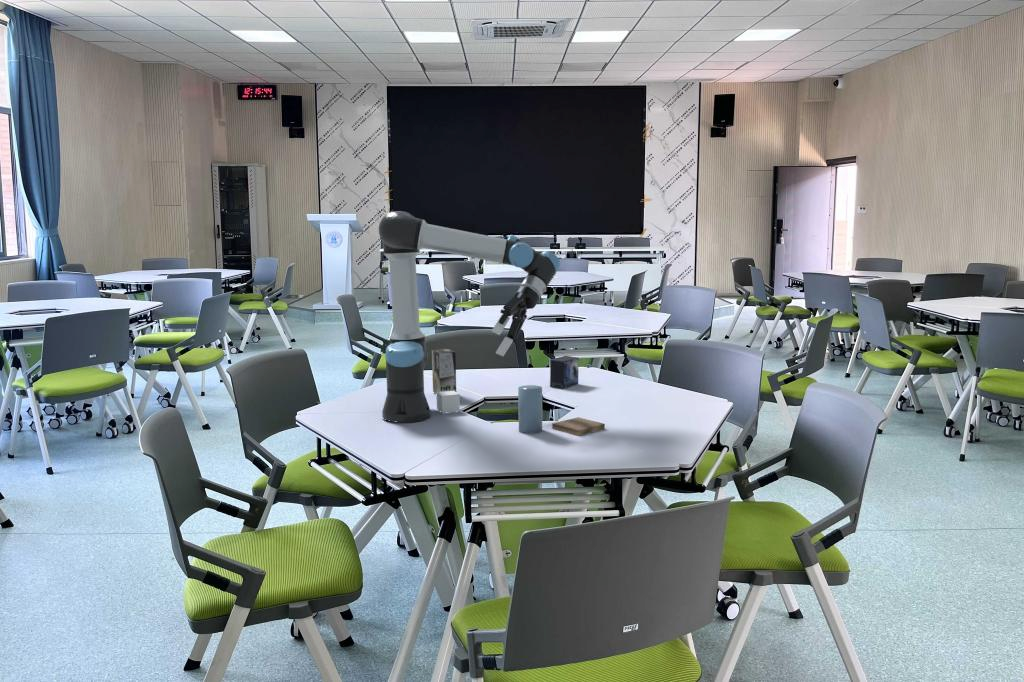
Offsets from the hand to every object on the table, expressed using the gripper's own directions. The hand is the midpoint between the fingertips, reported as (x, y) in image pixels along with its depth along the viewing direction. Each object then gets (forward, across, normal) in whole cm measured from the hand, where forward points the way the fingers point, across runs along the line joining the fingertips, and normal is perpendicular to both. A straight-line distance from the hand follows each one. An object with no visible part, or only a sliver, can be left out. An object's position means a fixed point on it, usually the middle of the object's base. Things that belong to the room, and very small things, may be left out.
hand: (497, 344), depth 253 cm
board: (+12, +4, -34) cm, 37 cm away
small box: (-20, +53, -13) cm, 58 cm away
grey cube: (+20, +21, +10) cm, 30 cm away
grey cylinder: (+20, +2, -22) cm, 30 cm away
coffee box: (+9, +39, +20) cm, 45 cm away
